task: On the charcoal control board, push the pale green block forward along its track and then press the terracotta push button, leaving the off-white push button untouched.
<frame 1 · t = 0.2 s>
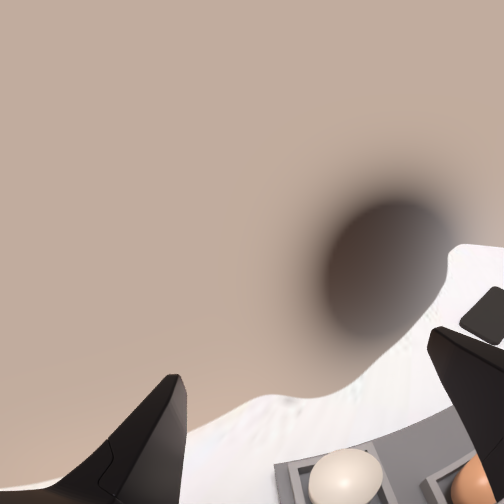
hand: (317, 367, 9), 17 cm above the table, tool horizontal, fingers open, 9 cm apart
control board: (465, 496, 10), on the table
phone: (494, 315, 30), on the table
terracotta button: (483, 481, 9), point 5 cm above the table, slide at 0.0 cm
offwhite button: (344, 482, 13), point 5 cm above the table, slide at 0.0 cm
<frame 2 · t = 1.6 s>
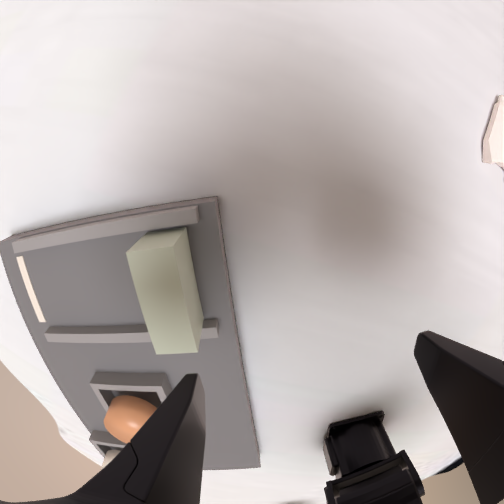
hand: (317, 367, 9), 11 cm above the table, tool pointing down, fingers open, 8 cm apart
control board: (142, 376, 22), on the table
pale green block: (169, 290, 15), point 4 cm above the table, slide at 0.0 cm
terracotta button: (134, 422, 18), point 5 cm above the table, slide at 0.0 cm
offwhite button: (124, 467, 21), point 5 cm above the table, slide at 0.0 cm
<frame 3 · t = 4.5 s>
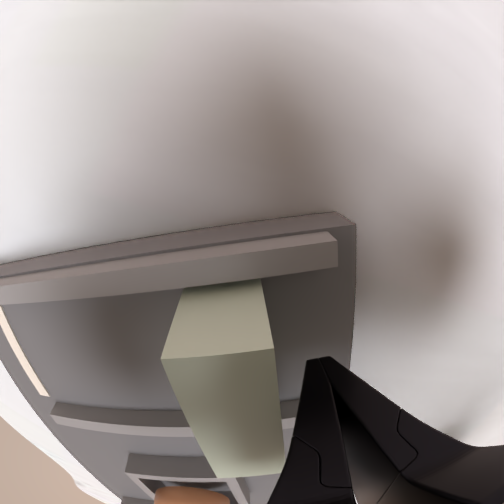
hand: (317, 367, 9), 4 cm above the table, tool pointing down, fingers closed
control board: (191, 448, 15), on the table
pale green block: (236, 389, 8), point 4 cm above the table, slide at 1.5 cm, touching gripper
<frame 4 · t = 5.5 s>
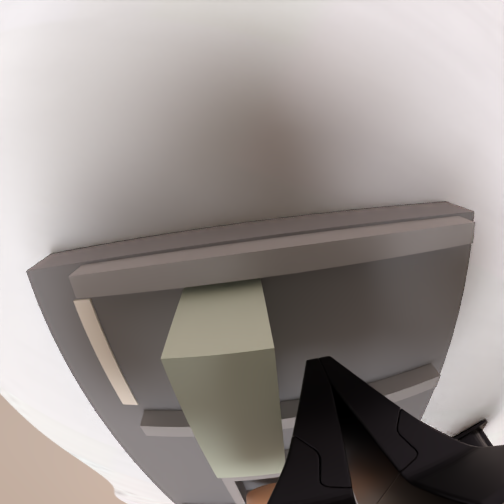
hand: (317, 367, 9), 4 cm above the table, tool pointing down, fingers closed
control board: (277, 442, 15), on the table
pale green block: (236, 389, 8), point 4 cm above the table, slide at 7.1 cm, touching gripper
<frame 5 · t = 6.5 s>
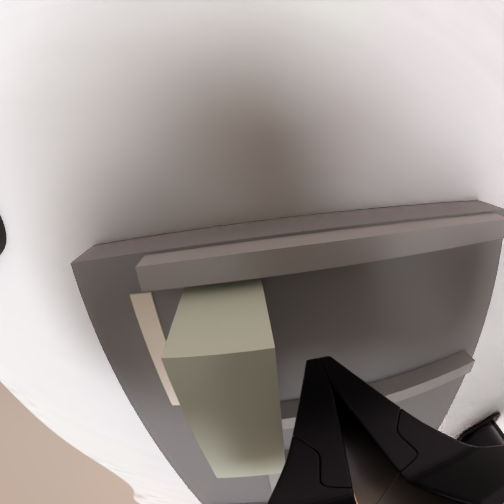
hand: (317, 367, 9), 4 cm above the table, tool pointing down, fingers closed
control board: (315, 435, 15), on the table
pale green block: (236, 389, 8), point 4 cm above the table, slide at 9.6 cm, touching gripper
terracotta button: (328, 499, 11), point 5 cm above the table, slide at 0.0 cm
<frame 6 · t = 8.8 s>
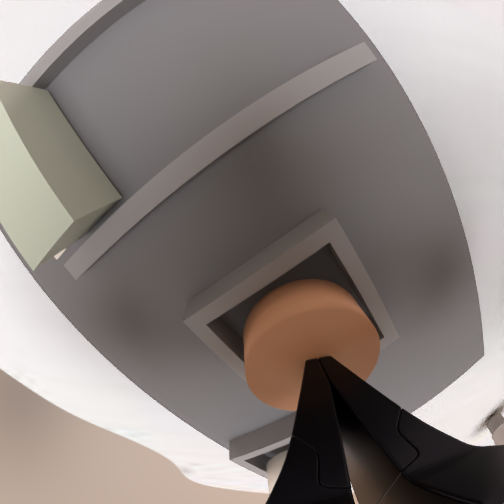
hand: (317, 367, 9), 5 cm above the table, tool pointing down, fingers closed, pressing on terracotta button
control board: (277, 277, 14), on the table
lightbulb: (490, 415, 23), on the table
pale green block: (34, 164, 7), point 4 cm above the table, slide at 9.6 cm
terracotta button: (309, 349, 10), point 4 cm above the table, slide at 0.3 cm, touching gripper
offwhite button: (306, 474, 13), point 5 cm above the table, slide at 0.0 cm
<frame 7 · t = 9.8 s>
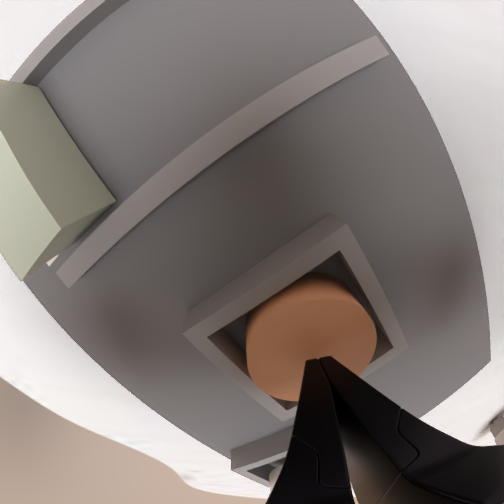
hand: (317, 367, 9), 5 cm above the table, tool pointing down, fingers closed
control board: (281, 284, 13), on the table
lightbulb: (493, 419, 22), on the table
pale green block: (22, 165, 7), point 4 cm above the table, slide at 9.6 cm
terracotta button: (308, 340, 10), point 3 cm above the table, slide at 1.6 cm
offwhite button: (310, 484, 12), point 5 cm above the table, slide at 0.0 cm
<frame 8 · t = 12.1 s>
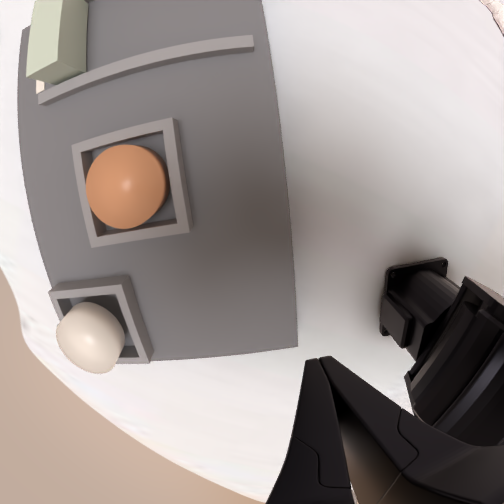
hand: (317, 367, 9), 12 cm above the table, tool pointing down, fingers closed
control board: (141, 165, 18), on the table
pale green block: (58, 35, 10), point 4 cm above the table, slide at 9.6 cm
terracotta button: (127, 185, 15), point 3 cm above the table, slide at 1.6 cm
offwhite button: (90, 338, 16), point 5 cm above the table, slide at 0.0 cm
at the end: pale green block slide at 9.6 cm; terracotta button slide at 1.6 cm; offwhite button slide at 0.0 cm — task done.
